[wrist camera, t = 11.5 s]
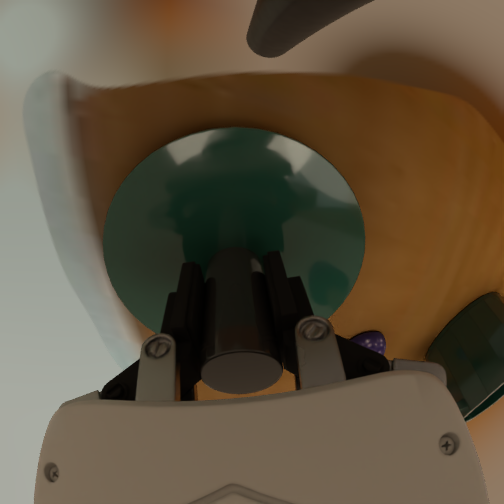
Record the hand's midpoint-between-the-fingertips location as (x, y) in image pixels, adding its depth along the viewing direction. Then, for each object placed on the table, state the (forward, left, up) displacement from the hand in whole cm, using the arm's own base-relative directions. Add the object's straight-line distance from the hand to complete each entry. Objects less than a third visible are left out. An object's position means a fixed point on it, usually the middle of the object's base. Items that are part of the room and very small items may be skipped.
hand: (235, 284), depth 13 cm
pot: (+16, +25, -3) cm, 30 cm away
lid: (0, 0, -2) cm, 2 cm away
